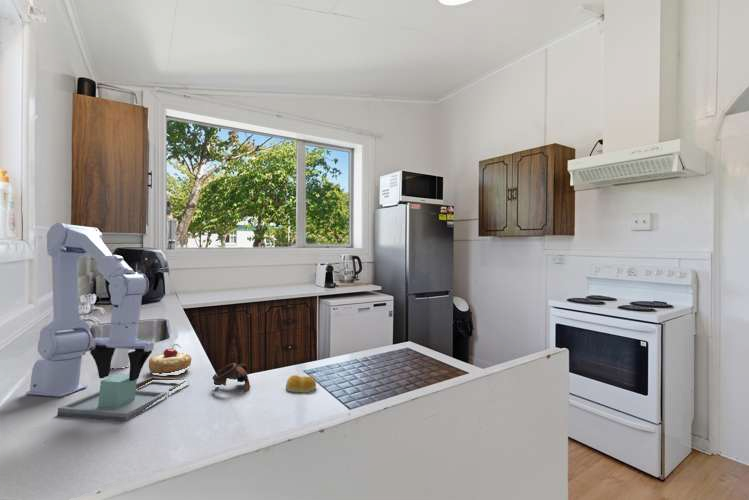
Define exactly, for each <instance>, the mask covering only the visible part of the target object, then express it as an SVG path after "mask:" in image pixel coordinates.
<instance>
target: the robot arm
mask: <svg viewBox="0 0 749 500" xmlns="http://www.w3.org/2000/svg"><path fill="white" fill-rule="evenodd" d="M46 250H47V251H46V252H47V255H48V256H49V257H51V278H52V280H51V281H52V306H53V307H52V309H53V310H52V311H53V316H52V317H53V320H52V321H51V322H49V323H47V325H45V326H44V327H43V328H42V329H40V334H39V340H38V342H37V352H38V355H40V356H41V357H39V358H38V359H37V360H36V361H35V363H34V364H33V366H32V369H31V370H32V371H31V378H30V383H29V384H30V385H29V390H28V391H26V393H25V394H26V395H33V396H45V397H46V396H47V397H56V398H57V397H58V398H61V397H64V396H67V395H70V394H72V393H75V392H78V391H80V390H83V389H85V388H88V384H80V377H81V369H82V362H83V356H86V353H87V352H88V351H89V350H90V348H94V349H91V350H90V351H89V354H90V355H91V356H92V358H93V360H94V362H95V365H96V369H97V372H98V378H99V379H105V378H108V377H109V375H110V370H111V368H110V366H111V361H112V357H113V354H114V351H115V349H116V348H121V349H130V350H134V351H130V352H129V353H128V356H129V361H130V366H129V373H128V374H129V380H130V381H134V380H136V379H137V380H138V379H139V377H140V374H141V371H142V369H143V367H144V365H145V363H146V361H147V360H148V358H149V357H150V355H151V354H152V352H153V350H154V347H155V342H154V341H149V340H142V339H140V338H138V334H139V326H140V325H139V323H140V316H141V309H142V308H141V307H142V298H143V296H145V295H146V294H147V293H148V291H149V288H150V287H149V286H150V282H149V279H148V277H147V275H146V274H144V273H138V272H135V271H134V269H133V268H132V267H131V266H130V265H129V264H128V263H127V262H126V261H125V260H124V257H123V256H121V255H118V254H112V252H111V251H110V249H109V248H108V247H107V246H106V244H105V243H104V240H103V232H101V231H100V230H99V229H98V227H95V226H84V225H76V224H75V225H74V224H68V223H64V222H63V223H62V222H55V223H53V224H52V226H51V227H50V228H49V230H48V231H47V233H46ZM87 256H90V257H92V259H93V260H95V261H96V262H97V265H96V269H97V271H98V272H99V273H100V274H101V276H102V277H103V278H104V279H105V280H106V281H107V282H108V283H109V284H108V292H109V295H110V303H111V304H112V310H111V318H110V325H109V334H108V337H95V338H94V337H93V335H92V332H91V328H90V324H89V323H88V322H87V321H85V320H83V319H81V318H80V309H79V307H80V305H79V304H80V303H79V281H78V280H79V279H78V261H80V259H82V258H85V257H87ZM59 331H60V332H59Z"/></svg>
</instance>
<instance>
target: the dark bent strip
mask: <svg viewBox="0 0 749 500" xmlns="http://www.w3.org/2000/svg"><path fill="white" fill-rule="evenodd" d="M152 380H184V378H174V377H164V376H151V377H148V378H146V379H144V380H142V381H139V382H137V383H136V389H137V388H139V387H141V386H143V385H145V384H146V383H148V382H150V381H152ZM184 382H186V381H184ZM184 382H182V383H180V384H178V385H175V386H173V387H171V388H169V389H168V392H169V391H172V390H173V389H175V388H176V387H178V386H180V385H181V384H183V383H184Z"/></svg>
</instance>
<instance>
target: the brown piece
mask: <svg viewBox="0 0 749 500" xmlns="http://www.w3.org/2000/svg"><path fill="white" fill-rule="evenodd" d="M212 380H213V383H214V384H215V385H220V386H224V387H225V386H227V380H235V381H237V382H238V383H243V385H242V387H243V389H244V392H246V393H247V392H248V391H249V389H250V388H251V385H250V380H249V376H248V366H247V364H246V363H240V364H237V363H235V362H233V363H230V364H227V365H225V366H223V367H222V368H221V369H219V370H218V371H217V372H216V373H214V374H213V376H212Z"/></svg>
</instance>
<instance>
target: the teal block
mask: <svg viewBox="0 0 749 500" xmlns="http://www.w3.org/2000/svg"><path fill="white" fill-rule="evenodd" d="M137 381H138V379H136V380H134V381H130V380H129V373H118V374H115V375H112V376H110V377H109V376H108V377H106V378H103V379H102V380H100V386H99V391H100V393H99V402H98V407H108V408H118V407H120V406H122V405H124V404H126V403H128V402H130V401H132V400H134V399H135V392H136V384H137V383H138V382H137Z"/></svg>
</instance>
